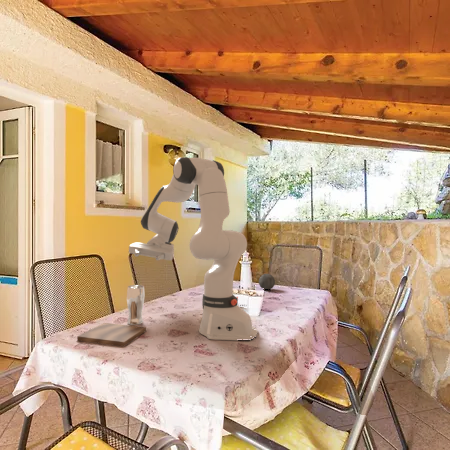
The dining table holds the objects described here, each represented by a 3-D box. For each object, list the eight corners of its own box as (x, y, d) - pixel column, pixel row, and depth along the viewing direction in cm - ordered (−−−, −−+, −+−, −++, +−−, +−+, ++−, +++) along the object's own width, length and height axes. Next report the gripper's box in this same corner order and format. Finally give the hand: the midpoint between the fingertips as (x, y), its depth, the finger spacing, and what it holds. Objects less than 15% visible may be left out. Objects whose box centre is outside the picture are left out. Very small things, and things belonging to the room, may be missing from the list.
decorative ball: (275, 288, 213) (275, 273, 213) (274, 292, 203) (274, 275, 203) (259, 287, 215) (259, 272, 214) (257, 291, 205) (258, 274, 205)
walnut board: (146, 331, 128) (146, 327, 128) (123, 346, 112) (123, 342, 112) (104, 326, 132) (104, 322, 132) (77, 340, 117) (77, 336, 116)
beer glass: (139, 326, 134) (139, 288, 133) (123, 324, 135) (123, 287, 135) (146, 321, 140) (147, 285, 140) (131, 319, 142) (132, 284, 142)
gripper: (134, 237, 159) (124, 245, 146) (177, 244, 159) (170, 253, 145) (133, 249, 161) (123, 259, 147) (175, 257, 160) (168, 267, 147)
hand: (146, 256), depth 146 cm, fingers open, 8 cm apart
